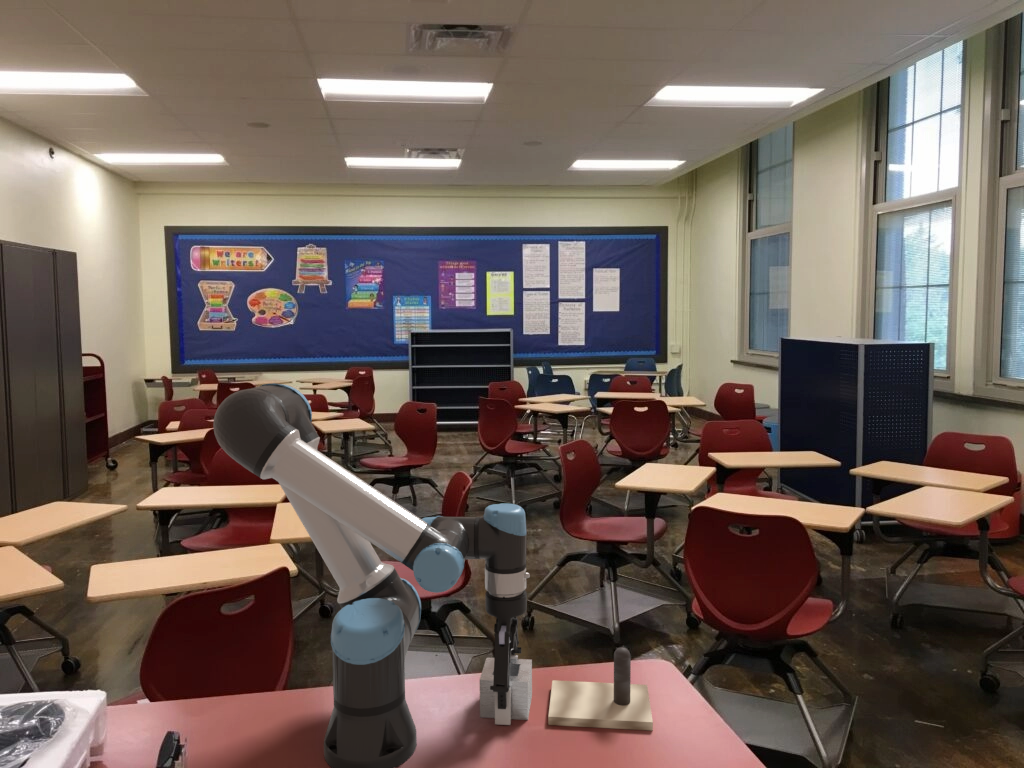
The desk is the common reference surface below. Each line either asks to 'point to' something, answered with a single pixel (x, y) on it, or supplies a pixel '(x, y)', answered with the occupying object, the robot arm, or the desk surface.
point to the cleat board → (602, 701)
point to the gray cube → (517, 683)
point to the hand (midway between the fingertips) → (507, 705)
